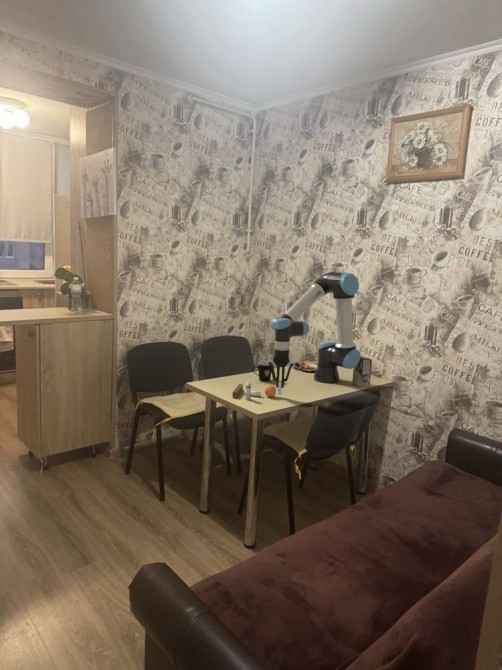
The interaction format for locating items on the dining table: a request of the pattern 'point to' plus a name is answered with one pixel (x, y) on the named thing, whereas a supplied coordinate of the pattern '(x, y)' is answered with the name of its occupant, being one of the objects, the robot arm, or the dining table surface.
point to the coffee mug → (264, 371)
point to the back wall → (237, 390)
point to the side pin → (248, 390)
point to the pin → (254, 393)
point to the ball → (270, 391)
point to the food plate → (306, 365)
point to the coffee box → (362, 372)
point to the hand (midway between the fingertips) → (279, 393)
